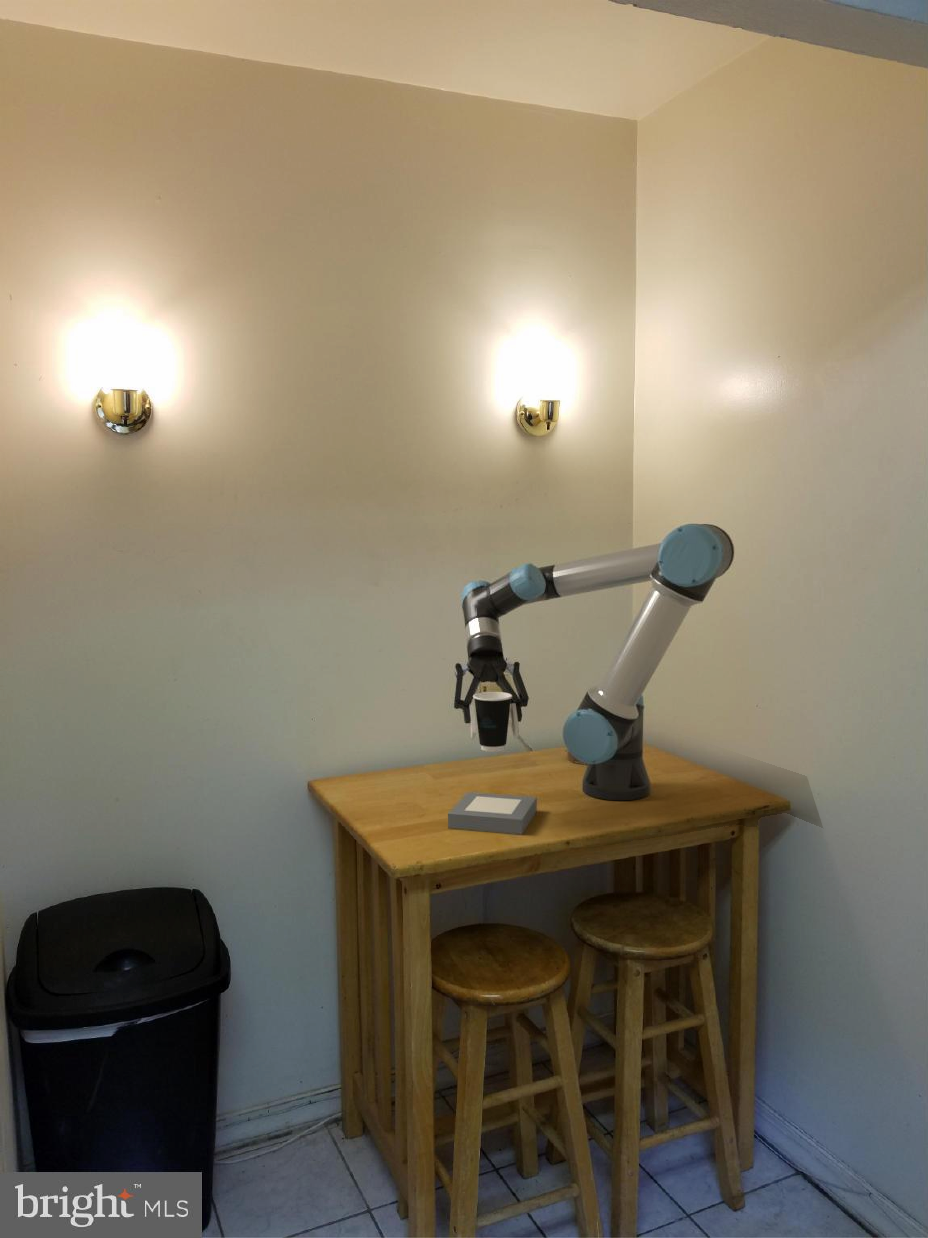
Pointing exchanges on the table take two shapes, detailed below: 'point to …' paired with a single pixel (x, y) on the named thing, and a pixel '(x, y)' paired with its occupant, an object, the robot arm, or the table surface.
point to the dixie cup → (492, 719)
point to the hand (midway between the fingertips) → (495, 734)
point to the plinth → (493, 813)
